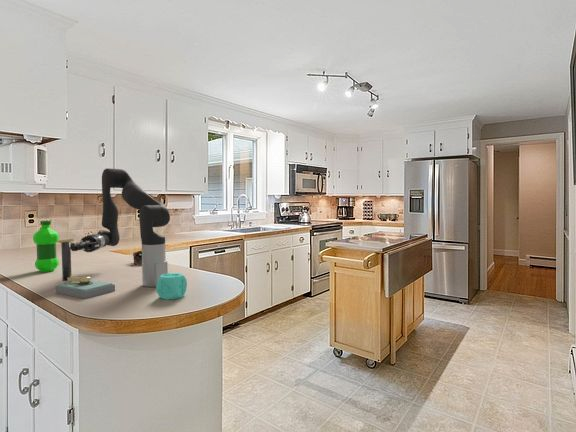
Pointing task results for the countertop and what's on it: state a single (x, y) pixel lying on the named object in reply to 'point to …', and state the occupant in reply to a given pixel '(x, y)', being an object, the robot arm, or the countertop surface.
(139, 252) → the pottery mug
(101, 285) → the plate
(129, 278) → the countertop surface
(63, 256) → the t key
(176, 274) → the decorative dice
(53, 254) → the plastic bottle
